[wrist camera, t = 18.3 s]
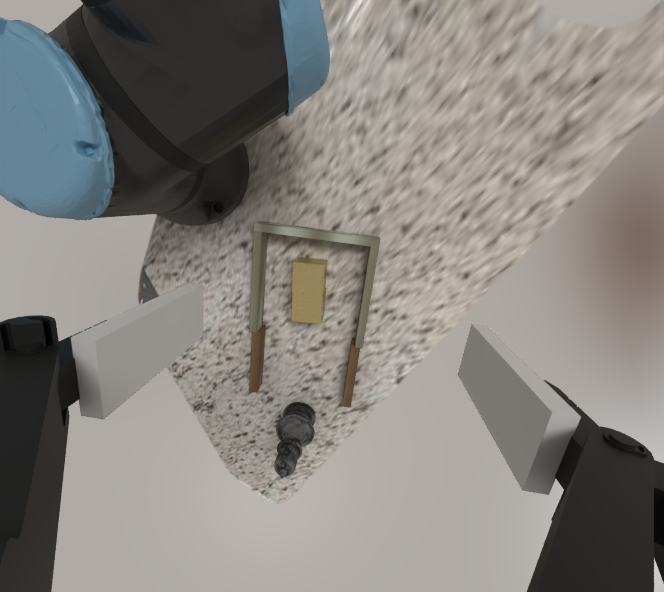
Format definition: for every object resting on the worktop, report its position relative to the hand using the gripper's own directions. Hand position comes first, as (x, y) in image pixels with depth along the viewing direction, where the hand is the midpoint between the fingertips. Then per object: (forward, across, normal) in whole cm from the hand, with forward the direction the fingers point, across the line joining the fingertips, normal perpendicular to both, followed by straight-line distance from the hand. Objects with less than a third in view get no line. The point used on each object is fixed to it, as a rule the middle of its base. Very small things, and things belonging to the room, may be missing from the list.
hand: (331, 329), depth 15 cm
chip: (+29, -5, -4) cm, 29 cm away
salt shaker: (+29, -4, -28) cm, 40 cm away
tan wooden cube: (+29, -5, -8) cm, 30 cm away
